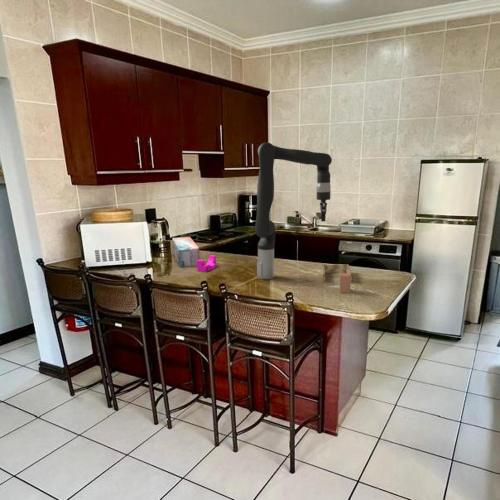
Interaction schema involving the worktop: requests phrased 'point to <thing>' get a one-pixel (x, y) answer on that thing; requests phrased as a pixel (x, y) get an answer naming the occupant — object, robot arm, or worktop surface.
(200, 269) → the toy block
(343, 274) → the block
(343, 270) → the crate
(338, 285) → the board
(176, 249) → the soda box
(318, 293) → the worktop surface
